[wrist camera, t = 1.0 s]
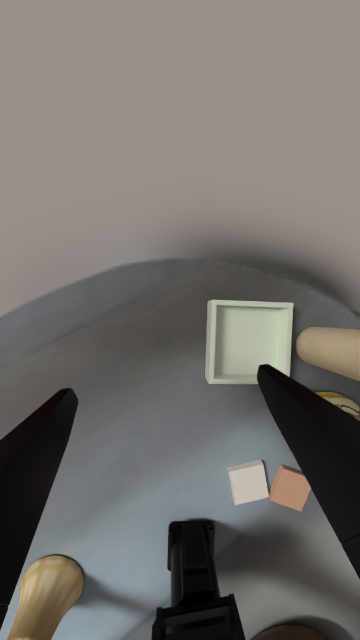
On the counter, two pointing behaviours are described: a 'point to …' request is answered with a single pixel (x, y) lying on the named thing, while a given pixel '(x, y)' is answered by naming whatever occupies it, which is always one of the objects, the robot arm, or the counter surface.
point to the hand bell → (46, 597)
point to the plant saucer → (288, 633)
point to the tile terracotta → (290, 488)
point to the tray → (246, 339)
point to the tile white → (248, 482)
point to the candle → (331, 350)
